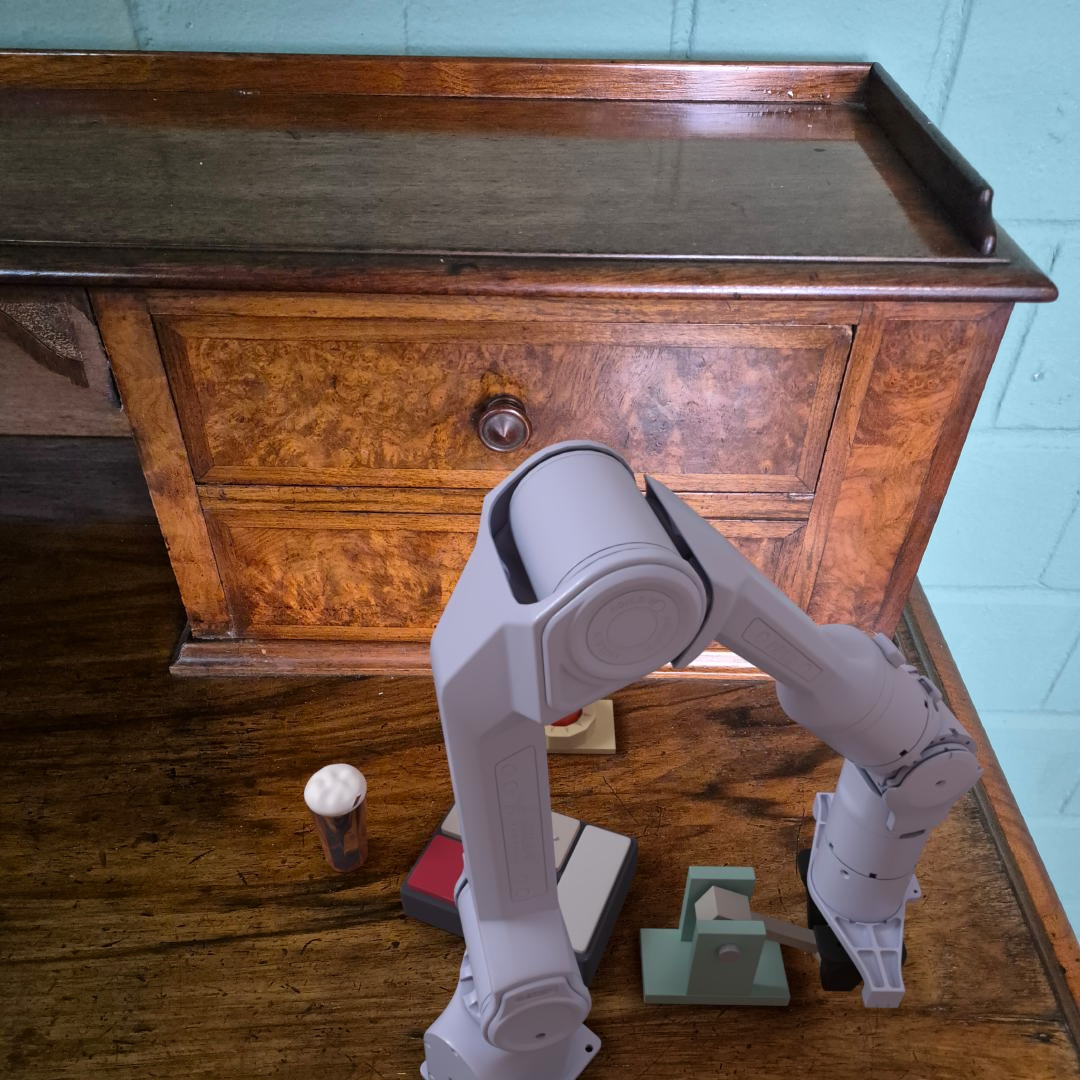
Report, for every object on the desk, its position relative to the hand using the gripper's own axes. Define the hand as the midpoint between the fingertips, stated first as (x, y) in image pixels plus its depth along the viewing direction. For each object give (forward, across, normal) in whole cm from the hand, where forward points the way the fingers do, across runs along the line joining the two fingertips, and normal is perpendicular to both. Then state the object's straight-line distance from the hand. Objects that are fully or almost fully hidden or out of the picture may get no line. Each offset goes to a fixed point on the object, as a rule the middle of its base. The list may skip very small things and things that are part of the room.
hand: (829, 959), depth 67 cm
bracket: (+2, 0, +8) cm, 8 cm away
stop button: (0, +23, +19) cm, 30 cm away
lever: (-2, 0, +5) cm, 5 cm away
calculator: (+2, +6, +22) cm, 23 cm away
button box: (+2, +23, +19) cm, 30 cm away
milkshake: (+2, +9, +36) cm, 37 cm away
